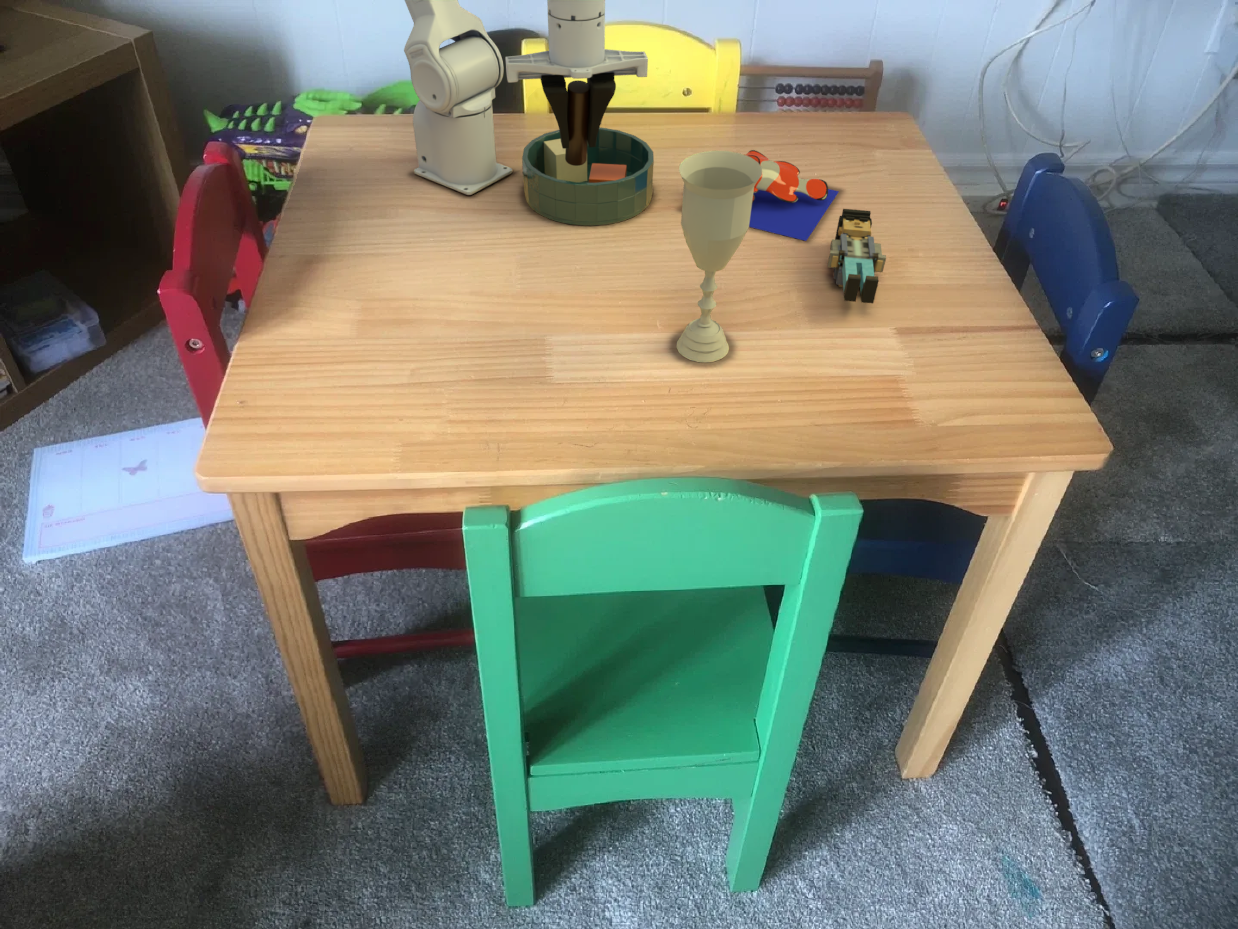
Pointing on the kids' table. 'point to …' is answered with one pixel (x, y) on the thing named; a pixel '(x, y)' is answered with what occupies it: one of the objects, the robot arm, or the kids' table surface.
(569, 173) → the cream block
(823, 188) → the fish
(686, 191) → the chalice
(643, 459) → the kids' table surface
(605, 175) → the terracotta block
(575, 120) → the dark brown cylinder
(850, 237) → the toy
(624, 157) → the bowl
